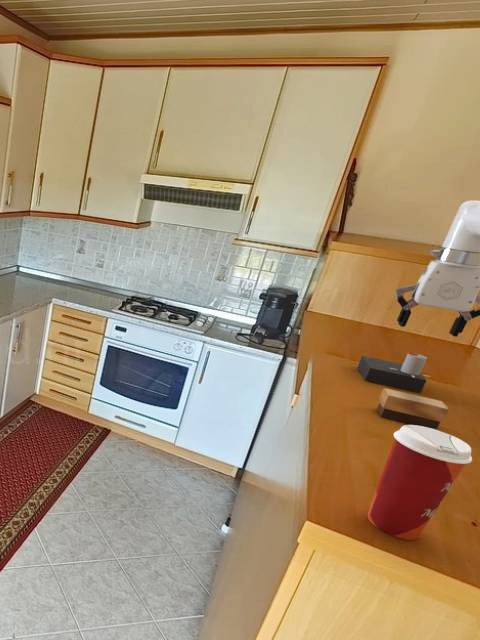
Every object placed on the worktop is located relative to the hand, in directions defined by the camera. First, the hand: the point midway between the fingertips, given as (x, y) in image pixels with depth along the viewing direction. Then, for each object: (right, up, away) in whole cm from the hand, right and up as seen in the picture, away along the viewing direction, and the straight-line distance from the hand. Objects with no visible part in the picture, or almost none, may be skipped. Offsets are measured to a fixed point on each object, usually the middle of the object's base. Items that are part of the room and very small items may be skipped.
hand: (426, 330), depth 116 cm
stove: (-2, -12, +8) cm, 15 cm away
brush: (-18, -19, -14) cm, 30 cm away
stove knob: (0, -10, +4) cm, 11 cm away
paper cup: (-51, -29, -48) cm, 76 cm away
